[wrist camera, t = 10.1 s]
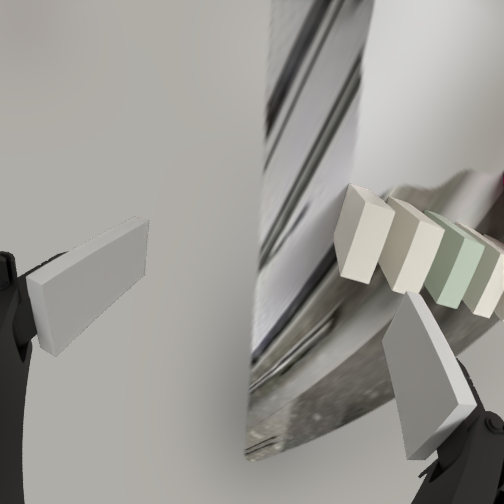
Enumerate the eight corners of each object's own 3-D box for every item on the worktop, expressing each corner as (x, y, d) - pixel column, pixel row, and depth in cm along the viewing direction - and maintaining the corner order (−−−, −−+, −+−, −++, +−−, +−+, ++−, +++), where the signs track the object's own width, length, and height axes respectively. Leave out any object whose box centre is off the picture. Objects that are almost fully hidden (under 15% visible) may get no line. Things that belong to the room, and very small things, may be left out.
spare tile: (424, 209, 29) (464, 237, 20) (442, 216, 29) (485, 246, 19) (406, 259, 31) (436, 303, 22) (423, 264, 31) (456, 309, 22)
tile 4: (456, 221, 28) (501, 253, 19) (471, 228, 28) (516, 260, 19) (437, 269, 31) (472, 313, 22) (452, 274, 31) (489, 318, 21)
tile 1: (349, 183, 30) (365, 201, 20) (370, 190, 29) (395, 211, 20) (332, 236, 32) (340, 276, 23) (353, 242, 32) (368, 284, 23)
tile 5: (483, 233, 28) (529, 266, 19) (496, 239, 28) (541, 272, 19) (465, 278, 30) (502, 321, 21) (478, 283, 30) (515, 325, 21)
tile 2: (388, 196, 29) (420, 220, 20) (408, 203, 29) (445, 229, 20) (371, 248, 32) (392, 290, 22) (390, 254, 31) (416, 297, 22)
